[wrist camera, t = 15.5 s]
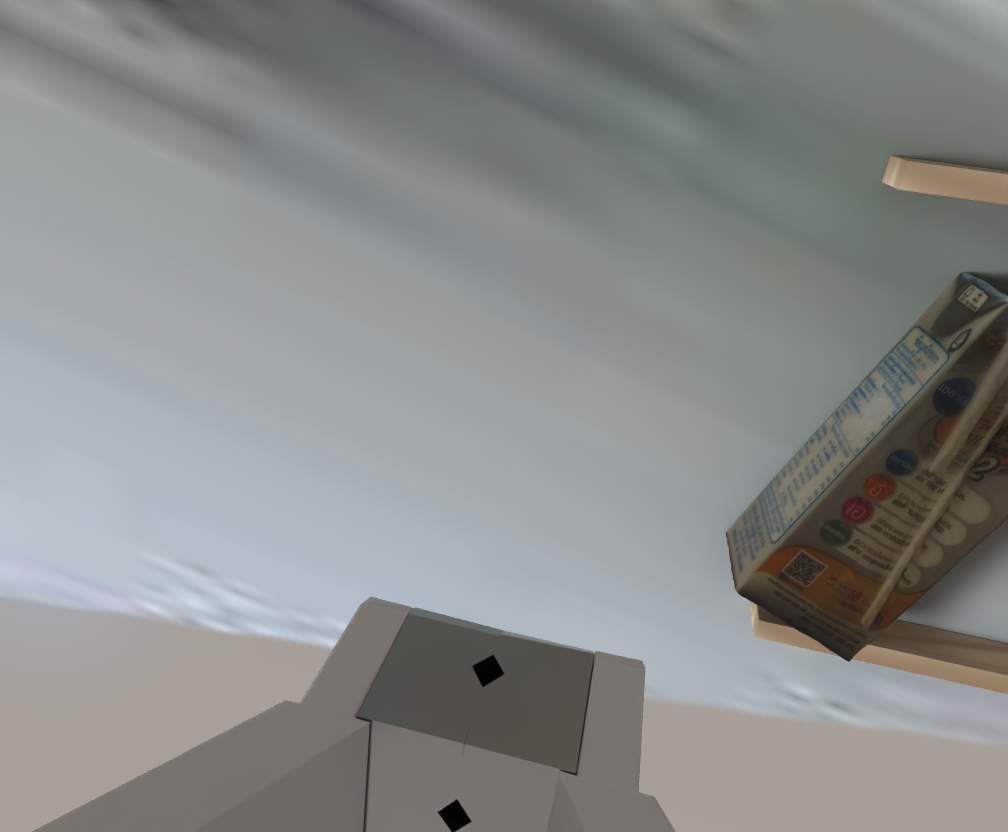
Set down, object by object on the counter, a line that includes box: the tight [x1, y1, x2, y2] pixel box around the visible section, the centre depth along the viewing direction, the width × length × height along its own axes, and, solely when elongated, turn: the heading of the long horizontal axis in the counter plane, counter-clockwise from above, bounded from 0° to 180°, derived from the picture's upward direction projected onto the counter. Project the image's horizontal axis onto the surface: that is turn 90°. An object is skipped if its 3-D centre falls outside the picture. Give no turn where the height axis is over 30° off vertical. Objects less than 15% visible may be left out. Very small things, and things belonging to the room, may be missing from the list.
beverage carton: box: [726, 273, 1008, 661], centre depth 38 cm, size 8×19×7 cm, turn 150°
